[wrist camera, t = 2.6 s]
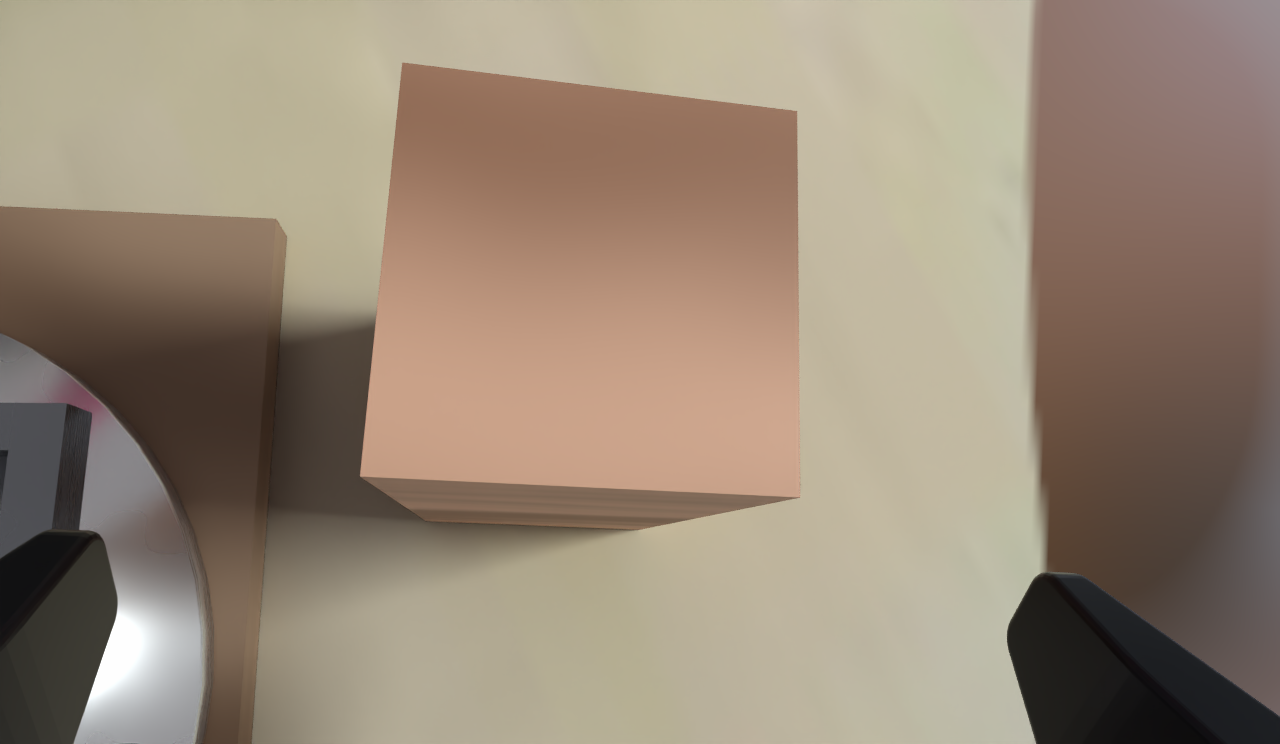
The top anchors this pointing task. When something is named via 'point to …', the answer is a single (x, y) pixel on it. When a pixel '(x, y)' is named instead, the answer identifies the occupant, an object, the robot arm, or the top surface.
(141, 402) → the walnut board
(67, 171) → the top surface
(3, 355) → the rosette plate
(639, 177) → the tan wooden block
